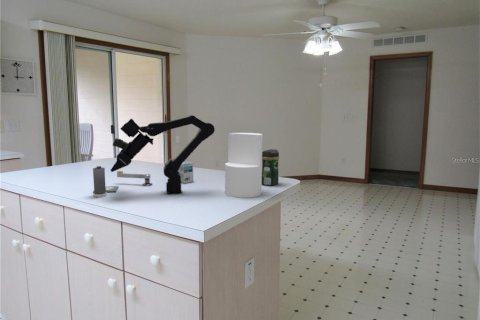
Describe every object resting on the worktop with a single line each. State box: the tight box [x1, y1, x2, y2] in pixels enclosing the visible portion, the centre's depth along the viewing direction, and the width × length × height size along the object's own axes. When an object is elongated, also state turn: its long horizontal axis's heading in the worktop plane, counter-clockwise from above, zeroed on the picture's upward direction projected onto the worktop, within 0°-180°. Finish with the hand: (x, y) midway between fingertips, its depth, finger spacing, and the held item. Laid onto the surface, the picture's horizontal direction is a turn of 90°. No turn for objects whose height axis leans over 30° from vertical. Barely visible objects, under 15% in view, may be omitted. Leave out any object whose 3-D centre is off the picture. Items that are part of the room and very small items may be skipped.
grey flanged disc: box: [142, 178, 153, 187], centre depth 178 cm, size 5×5×3 cm
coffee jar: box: [261, 148, 280, 187], centre depth 182 cm, size 10×8×19 cm
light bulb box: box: [178, 160, 194, 184], centre depth 187 cm, size 11×7×11 cm, turn 47°
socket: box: [92, 185, 120, 194], centre depth 166 cm, size 10×10×1 cm
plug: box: [92, 165, 108, 198], centre depth 155 cm, size 6×6×13 cm
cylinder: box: [224, 132, 264, 198], centre depth 162 cm, size 17×17×28 cm
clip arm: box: [116, 170, 151, 180], centre depth 178 cm, size 18×3×3 cm, turn 82°
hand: (112, 169), depth 156 cm, fingers open, 9 cm apart
